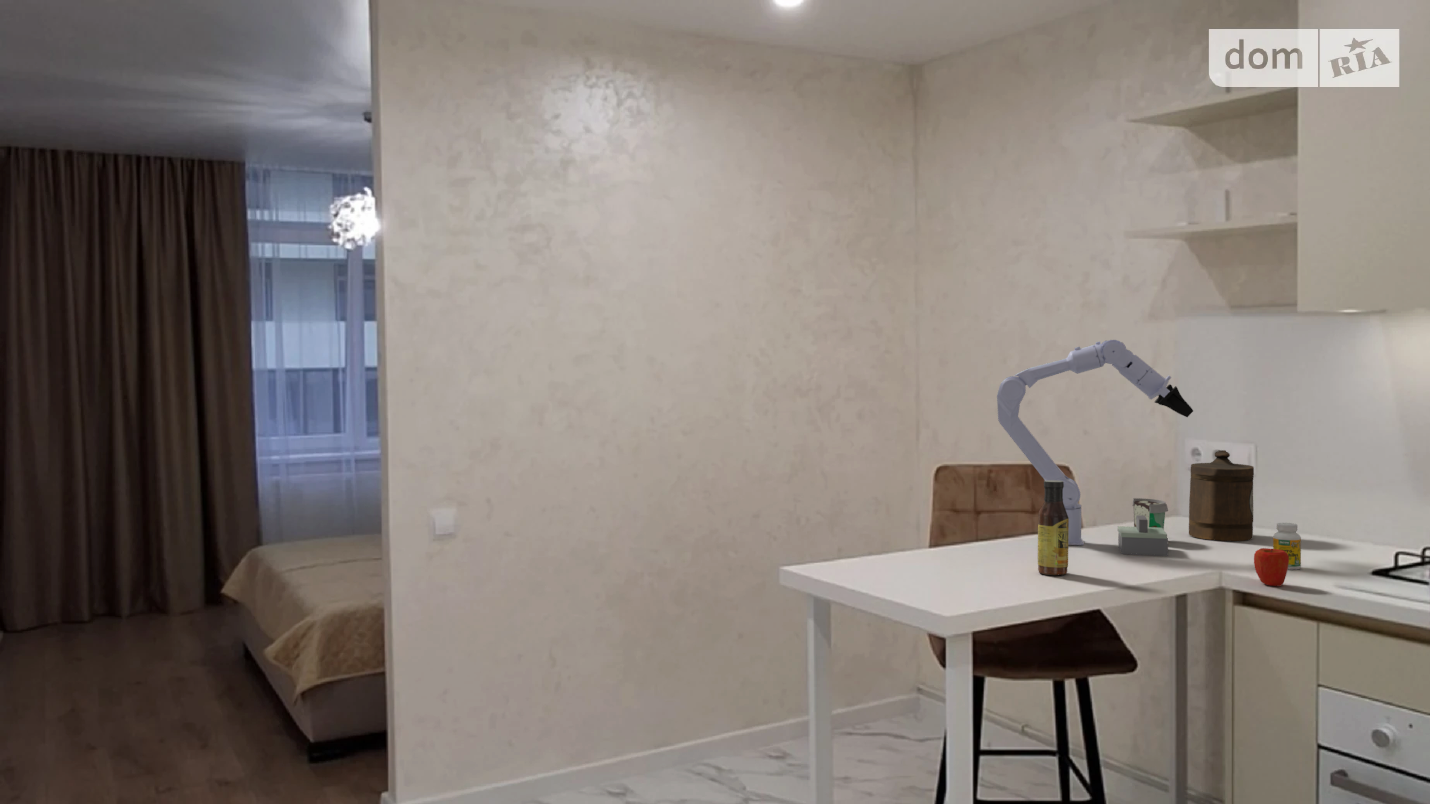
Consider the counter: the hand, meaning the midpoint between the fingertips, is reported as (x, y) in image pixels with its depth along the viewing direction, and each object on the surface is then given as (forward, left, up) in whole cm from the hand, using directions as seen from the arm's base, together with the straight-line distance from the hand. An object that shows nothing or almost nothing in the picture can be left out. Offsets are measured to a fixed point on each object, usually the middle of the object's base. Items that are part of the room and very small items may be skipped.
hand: (1188, 413), depth 265 cm
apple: (+10, -42, -32) cm, 54 cm away
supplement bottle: (+17, -22, -32) cm, 43 cm away
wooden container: (+10, +18, -33) cm, 39 cm away
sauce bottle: (-32, -40, -32) cm, 60 cm away
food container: (-7, +7, -32) cm, 34 cm away
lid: (-11, -8, -29) cm, 32 cm away
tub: (-11, -8, -32) cm, 35 cm away
